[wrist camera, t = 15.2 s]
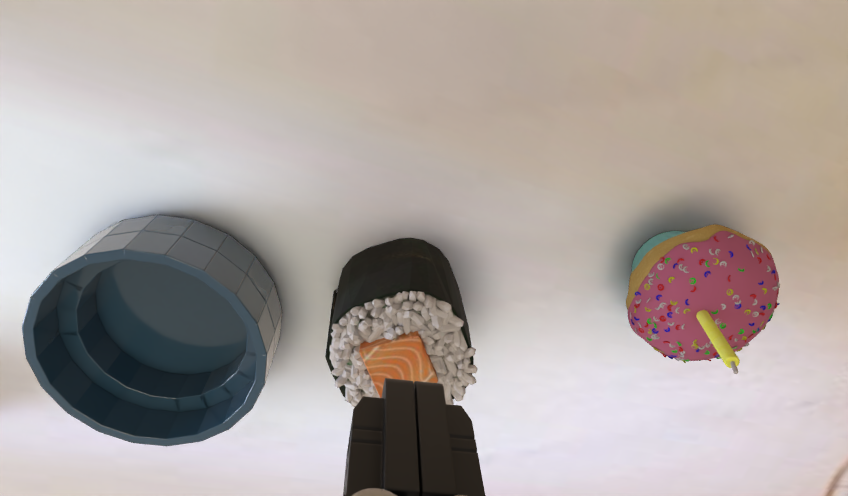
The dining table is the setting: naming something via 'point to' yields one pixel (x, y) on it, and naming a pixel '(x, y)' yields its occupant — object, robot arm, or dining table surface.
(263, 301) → the bowl
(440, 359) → the sushi
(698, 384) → the dining table surface
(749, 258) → the cupcake
